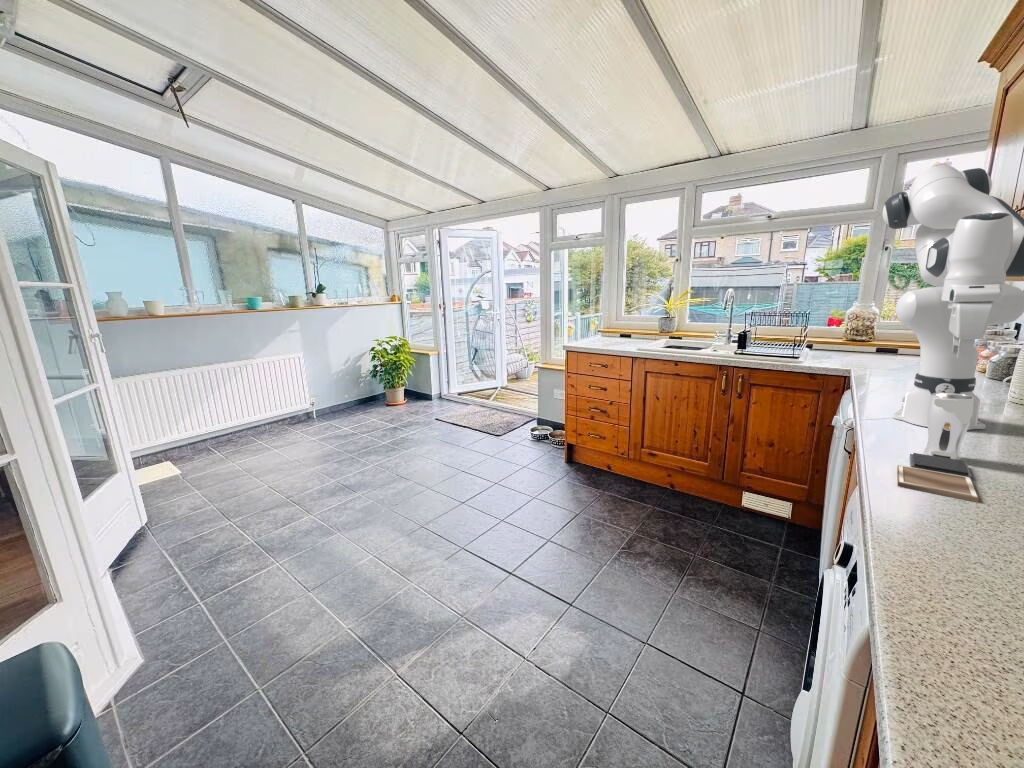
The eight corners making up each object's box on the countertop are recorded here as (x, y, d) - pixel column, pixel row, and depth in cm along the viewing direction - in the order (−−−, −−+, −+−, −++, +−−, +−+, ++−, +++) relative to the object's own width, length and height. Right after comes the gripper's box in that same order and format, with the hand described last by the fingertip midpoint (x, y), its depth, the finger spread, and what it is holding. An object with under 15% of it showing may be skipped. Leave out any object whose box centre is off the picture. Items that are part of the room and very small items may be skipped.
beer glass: (972, 464, 92) (985, 399, 89) (935, 462, 94) (946, 399, 91) (946, 452, 99) (958, 392, 96) (912, 451, 100) (922, 392, 97)
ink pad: (909, 457, 97) (910, 451, 97) (965, 466, 91) (966, 460, 91) (910, 470, 91) (911, 463, 90) (971, 481, 85) (972, 474, 84)
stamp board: (897, 468, 92) (897, 464, 91) (970, 481, 84) (970, 477, 84) (897, 486, 84) (898, 481, 84) (978, 502, 76) (979, 497, 76)
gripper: (946, 292, 98) (936, 349, 101) (955, 293, 83) (943, 361, 86) (985, 291, 94) (974, 351, 97) (1003, 292, 79) (989, 363, 82)
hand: (960, 356), depth 91 cm, fingers open, 8 cm apart
